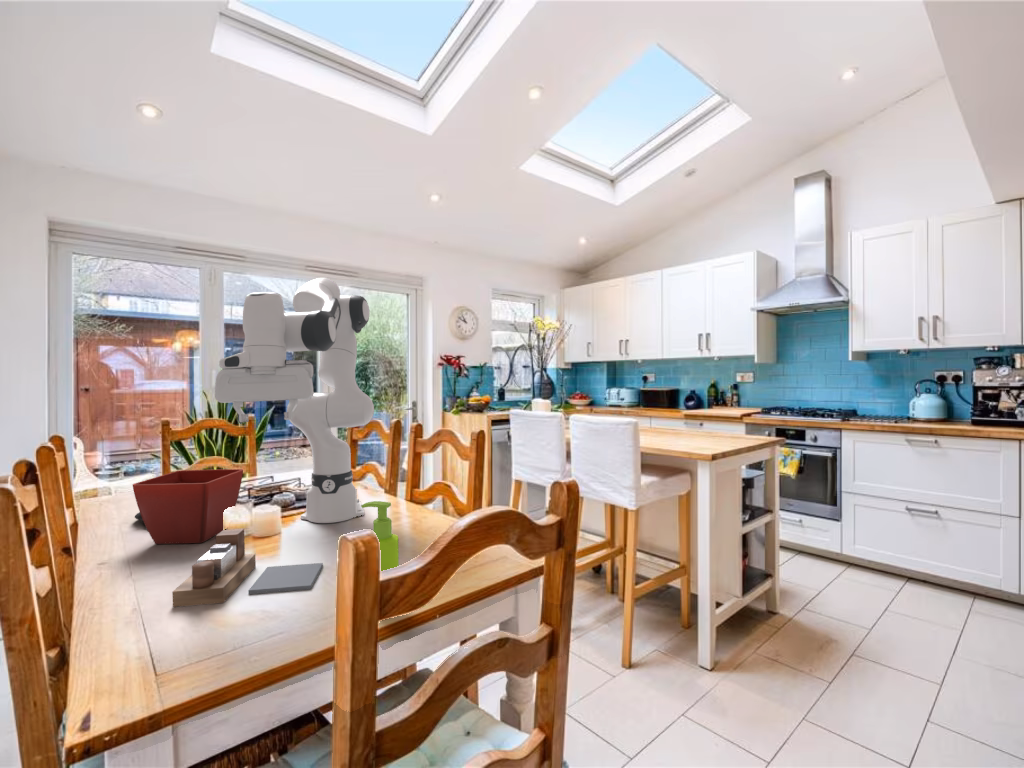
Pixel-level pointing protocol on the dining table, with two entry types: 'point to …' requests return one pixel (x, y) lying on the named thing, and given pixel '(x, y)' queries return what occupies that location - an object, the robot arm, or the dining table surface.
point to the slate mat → (286, 578)
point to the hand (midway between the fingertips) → (266, 421)
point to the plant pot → (187, 504)
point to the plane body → (215, 575)
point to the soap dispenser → (385, 535)
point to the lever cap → (220, 558)
